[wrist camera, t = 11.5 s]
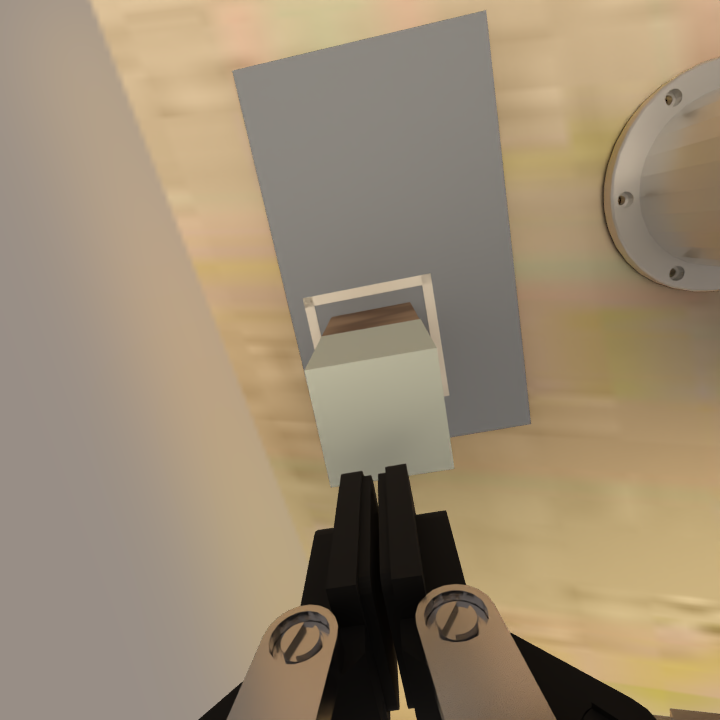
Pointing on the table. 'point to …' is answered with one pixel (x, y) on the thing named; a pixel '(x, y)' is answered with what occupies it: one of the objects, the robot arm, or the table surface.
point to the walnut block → (371, 318)
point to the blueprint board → (396, 200)
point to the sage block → (379, 401)
